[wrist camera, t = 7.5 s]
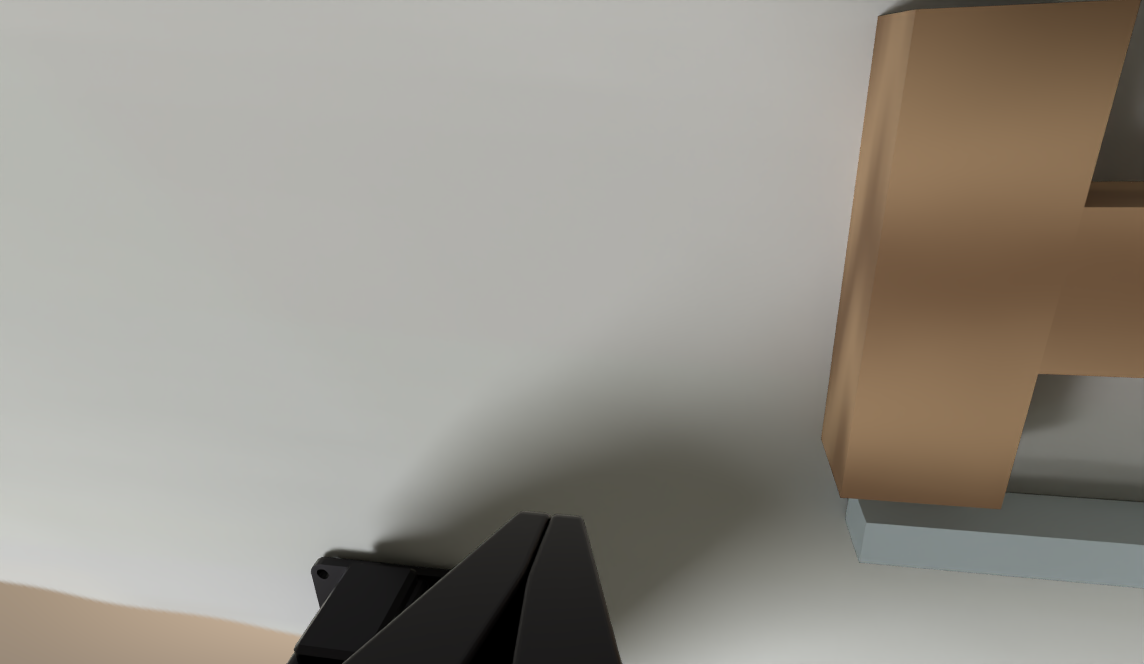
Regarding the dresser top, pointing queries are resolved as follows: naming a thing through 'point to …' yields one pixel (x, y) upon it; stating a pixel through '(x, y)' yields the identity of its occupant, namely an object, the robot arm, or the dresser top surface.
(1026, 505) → the dock
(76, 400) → the dresser top surface
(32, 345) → the dresser top surface
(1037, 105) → the t block
